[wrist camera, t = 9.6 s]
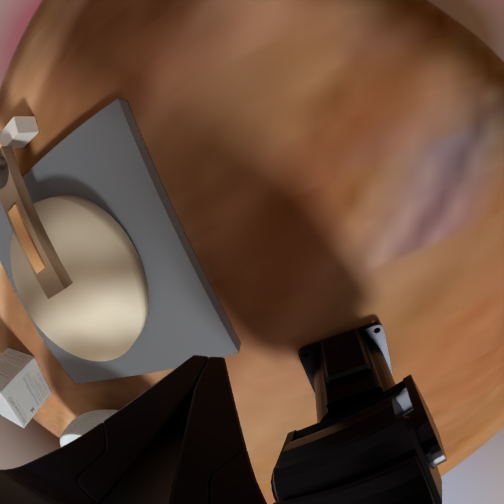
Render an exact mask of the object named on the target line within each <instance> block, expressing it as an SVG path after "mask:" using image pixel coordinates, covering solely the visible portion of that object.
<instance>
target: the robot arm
mask: <svg viewBox="0 0 504 504" xmlns="http://www.w3.org/2000/svg"><path fill="white" fill-rule="evenodd" d="M375 328H378V330H375V331H374V329H375ZM304 352H307V354H303V353H304ZM299 358H300V360H301V362H302V365H303V367H304V369H305V371H306V374H307V376H308V378H309V381H310V383H311V385H312V387H313V390H314V392H315V398H316V410H317V422H318V423H316V424H314V425H311V426H309V427H306V428H304V429H301V430H299V431H296V430H295V431H292V432H290V433H288V435H287V437H286V440H285V443H284V445H283V448H282V450H281V453H280V455H279V458H278V460H277V463H276V465H275V468H274V470H273V473H272V479H271V486H272V492H273V496H274V498H275V501H276V502H275V503H273V504H442V480H441V476H440V474H439V471H438V468H437V465H439V464H441V463H443V462H444V461H446V460H447V459H446V455H445V452H444V448H443V445H442V442H441V438H440V435H439V432H438V430H437V428H436V425H435V423H434V421H433V418H432V416H431V414H430V411H429V409H428V407H427V405H426V403H425V401H424V399H423V397H422V395H421V393H420V391H419V389H418V387H417V386H416V384H415V382H414V380H413V378H412V376H411V374H410V375H409V376H407V377H405V378H404V379H403V381H401V382H400V383H398V384H395V382H394V379H393V375H392V369H391V363H390V358H389V353H388V348H387V343H386V338H385V333H384V328H383V326H382V324H381V323H380V322H374V323H372V324H369V325H366V326H363V327H361V328H358V329H355V330H351V331H349V332H346V333H343V334H340V335H337V336H334V337H331V338H328V339H325V340H323V341H320V342H317V343H314V344H311V345H307V346H304V347H302V348H300V349H299ZM0 504H267V503H266V501H265V499H264V496H263V494H262V492H261V490H260V488H259V485H258V483H257V481H256V478H255V475H254V472H253V469H252V466H251V463H250V459H249V455H248V452H247V449H246V445H245V441H244V437H243V433H242V429H241V425H240V421H239V417H238V413H237V409H236V405H235V401H234V397H233V393H232V389H231V384H230V380H229V376H228V371H227V367H226V363H225V359H224V358H222V357H209V358H208V357H207V356H200V355H193V356H192V357H190V358H189V359H188V360H186V361H185V362H184V363H182V364H181V365H180V366H178V367H177V368H176V369H175V370H173V371H172V372H171V373H169V374H168V375H167V376H165V377H164V378H163V379H161V380H160V381H158V382H157V383H156V384H154V385H153V386H152V387H150V388H149V389H148V390H146V391H145V392H144V393H142V394H141V395H139V396H138V397H137V398H135V399H134V400H132V401H131V402H130V403H128V404H127V405H126V406H124V407H123V408H121V409H120V410H118V411H117V412H116V413H114V414H113V415H111V416H110V417H109V418H107V419H106V420H104V423H100V424H98V425H97V426H95V427H94V428H92V429H91V430H89V431H88V432H86V433H85V434H83V435H82V436H80V437H78V438H77V439H75V440H73V441H71V442H70V443H68V444H66V445H64V446H62V447H60V448H58V449H56V450H55V451H52V452H50V453H48V454H47V455H44V456H42V457H40V458H38V459H36V460H34V461H32V462H29V463H27V464H25V465H23V466H20V467H17V468H13V469H7V470H0Z"/></svg>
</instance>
